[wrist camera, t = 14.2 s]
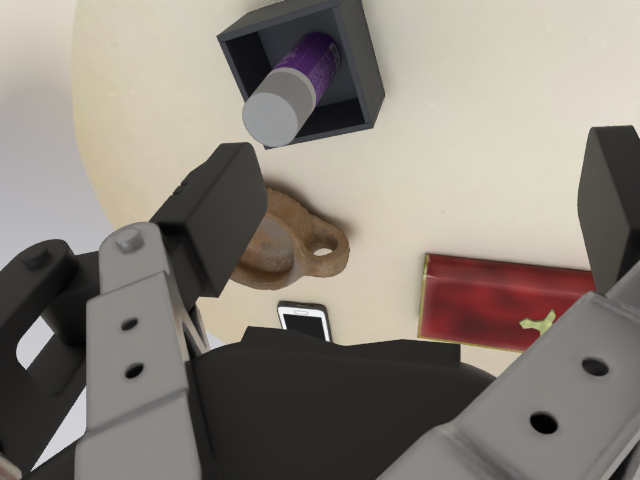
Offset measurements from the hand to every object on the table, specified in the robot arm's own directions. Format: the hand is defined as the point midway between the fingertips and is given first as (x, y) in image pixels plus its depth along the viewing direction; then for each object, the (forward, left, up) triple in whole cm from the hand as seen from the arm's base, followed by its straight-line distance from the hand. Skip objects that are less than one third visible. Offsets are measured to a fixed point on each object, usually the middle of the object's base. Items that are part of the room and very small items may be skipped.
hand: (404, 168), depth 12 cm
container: (+8, -13, -36) cm, 39 cm away
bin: (+8, -13, -37) cm, 40 cm away
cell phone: (+51, -23, -37) cm, 67 cm away
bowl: (+28, -21, -37) cm, 51 cm away
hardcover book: (+40, +6, -37) cm, 55 cm away
